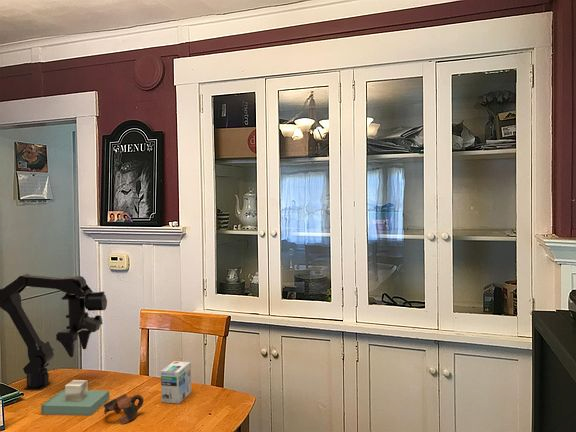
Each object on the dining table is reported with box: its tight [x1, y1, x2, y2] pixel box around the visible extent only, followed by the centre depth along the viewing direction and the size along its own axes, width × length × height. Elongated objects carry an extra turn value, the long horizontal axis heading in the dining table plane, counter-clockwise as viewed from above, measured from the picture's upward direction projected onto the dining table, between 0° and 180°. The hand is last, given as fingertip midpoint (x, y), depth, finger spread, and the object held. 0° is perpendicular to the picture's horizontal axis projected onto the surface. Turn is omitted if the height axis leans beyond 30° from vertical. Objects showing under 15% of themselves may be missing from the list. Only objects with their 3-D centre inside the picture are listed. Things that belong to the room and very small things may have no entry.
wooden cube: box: [64, 379, 89, 401], centre depth 163 cm, size 5×5×5 cm
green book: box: [40, 388, 110, 416], centre depth 163 cm, size 16×13×3 cm
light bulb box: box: [160, 360, 192, 404], centre depth 169 cm, size 11×7×11 cm, turn 168°
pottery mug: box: [103, 393, 145, 425], centre depth 155 cm, size 12×10×8 cm
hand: (78, 352), depth 181 cm, fingers open, 9 cm apart
